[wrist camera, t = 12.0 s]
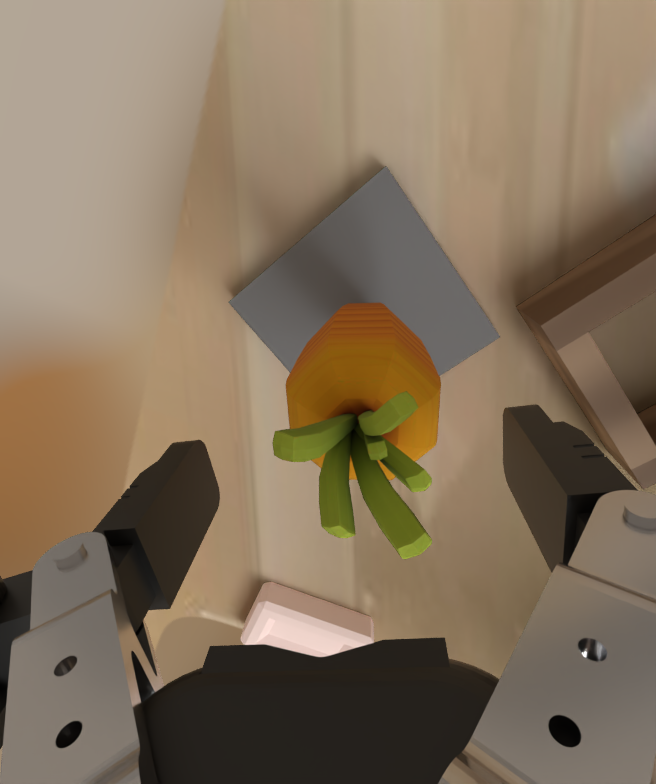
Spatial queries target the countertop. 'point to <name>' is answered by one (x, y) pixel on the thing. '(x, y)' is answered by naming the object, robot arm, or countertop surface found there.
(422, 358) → the carrot
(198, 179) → the countertop surface
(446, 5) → the countertop surface
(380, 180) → the mat
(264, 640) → the soap bar
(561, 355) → the socket collar
